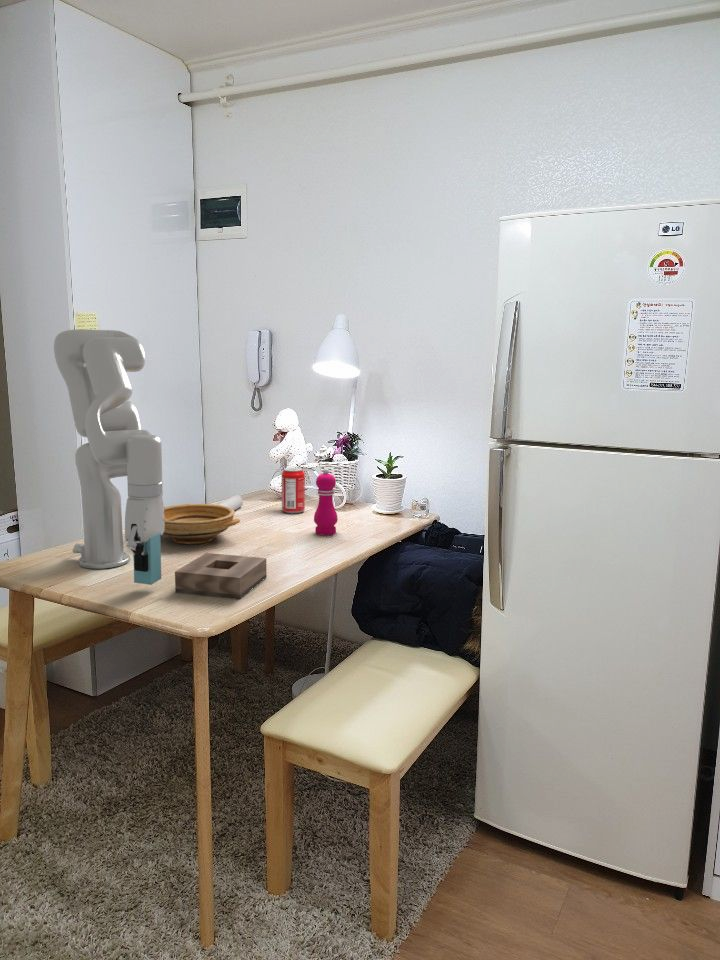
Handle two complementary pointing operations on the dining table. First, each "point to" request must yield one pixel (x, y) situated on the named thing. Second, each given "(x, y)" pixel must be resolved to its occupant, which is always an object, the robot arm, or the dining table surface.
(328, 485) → the pepper mill
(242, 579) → the bore block
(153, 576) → the peg
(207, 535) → the ceramic bowl
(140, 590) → the dining table surface
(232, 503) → the tube
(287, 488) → the soda can
